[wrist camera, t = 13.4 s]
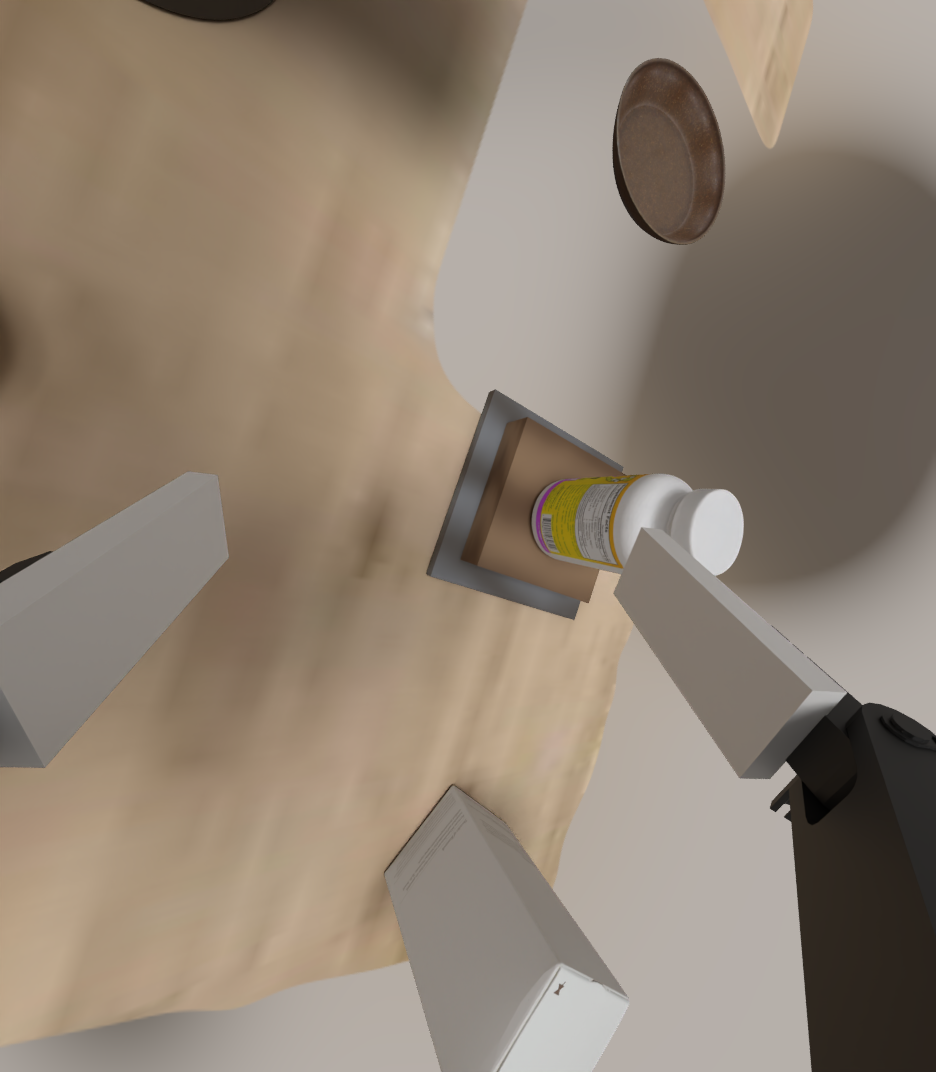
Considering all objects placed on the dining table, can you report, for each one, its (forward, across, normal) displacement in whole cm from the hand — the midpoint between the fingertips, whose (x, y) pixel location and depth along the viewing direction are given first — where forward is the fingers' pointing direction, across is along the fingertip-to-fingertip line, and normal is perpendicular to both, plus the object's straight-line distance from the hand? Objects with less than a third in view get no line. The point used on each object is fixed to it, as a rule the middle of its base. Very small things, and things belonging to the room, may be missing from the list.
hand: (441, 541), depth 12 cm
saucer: (+38, +19, +23) cm, 48 cm away
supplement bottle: (+17, +11, -6) cm, 22 cm away
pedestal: (+21, +10, -8) cm, 24 cm away
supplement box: (+7, +6, -35) cm, 36 cm away
